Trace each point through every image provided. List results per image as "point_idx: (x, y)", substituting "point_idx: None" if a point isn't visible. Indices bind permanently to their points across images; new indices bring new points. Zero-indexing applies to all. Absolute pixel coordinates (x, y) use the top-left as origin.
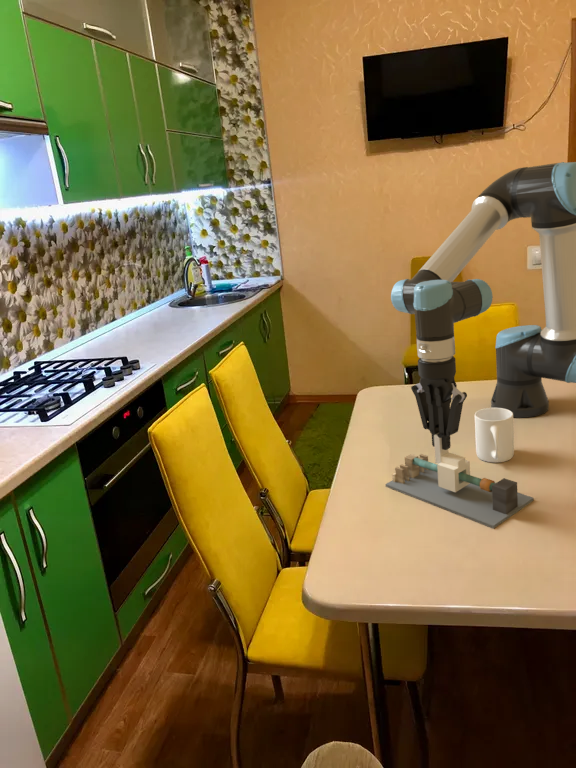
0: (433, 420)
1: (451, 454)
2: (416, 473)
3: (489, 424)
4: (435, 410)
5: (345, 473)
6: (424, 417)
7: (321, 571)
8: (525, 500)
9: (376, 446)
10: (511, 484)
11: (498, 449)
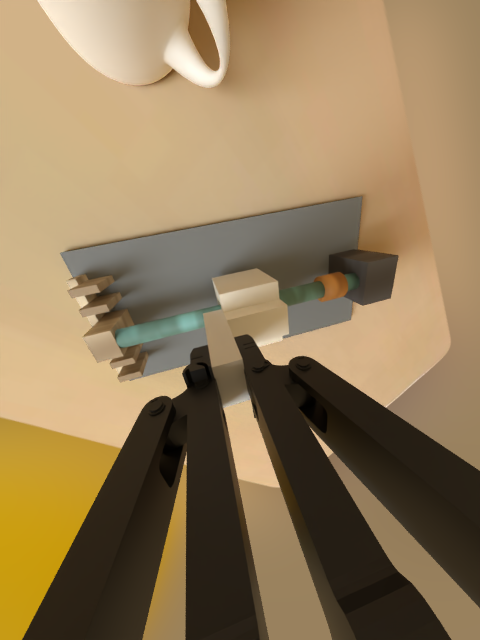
0: (236, 475)
1: (245, 322)
2: (129, 320)
3: None
4: (248, 542)
5: (19, 414)
6: (170, 504)
7: (266, 479)
8: (355, 219)
9: None
10: (392, 272)
11: (179, 14)
